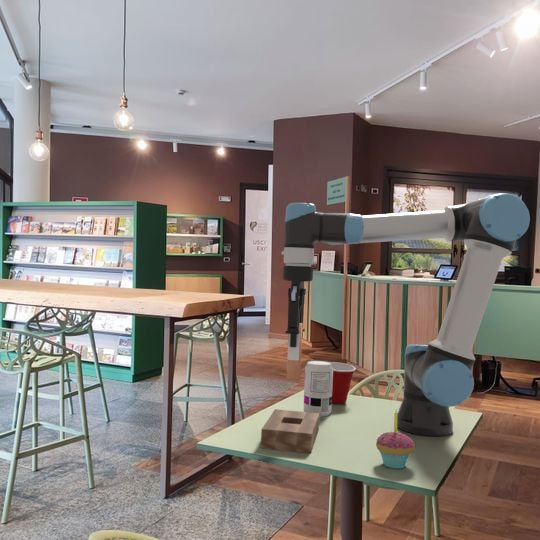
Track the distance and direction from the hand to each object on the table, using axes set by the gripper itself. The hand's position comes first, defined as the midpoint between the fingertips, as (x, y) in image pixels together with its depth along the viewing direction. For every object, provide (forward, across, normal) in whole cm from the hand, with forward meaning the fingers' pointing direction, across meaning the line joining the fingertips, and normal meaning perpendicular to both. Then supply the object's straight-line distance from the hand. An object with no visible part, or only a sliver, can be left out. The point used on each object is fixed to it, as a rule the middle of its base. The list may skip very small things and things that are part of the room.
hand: (294, 358), depth 136 cm
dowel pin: (+5, 0, 0) cm, 5 cm away
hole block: (+20, 0, 0) cm, 20 cm away
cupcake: (+20, +11, +25) cm, 34 cm away
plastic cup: (+20, -40, +9) cm, 46 cm away
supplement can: (+20, -25, +4) cm, 33 cm away
